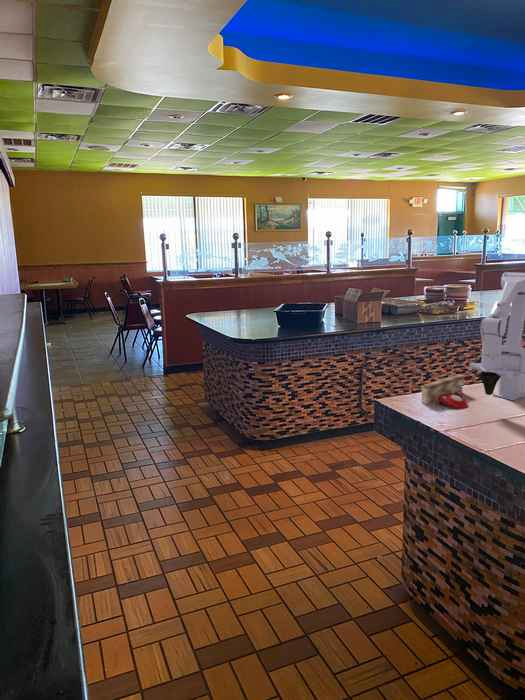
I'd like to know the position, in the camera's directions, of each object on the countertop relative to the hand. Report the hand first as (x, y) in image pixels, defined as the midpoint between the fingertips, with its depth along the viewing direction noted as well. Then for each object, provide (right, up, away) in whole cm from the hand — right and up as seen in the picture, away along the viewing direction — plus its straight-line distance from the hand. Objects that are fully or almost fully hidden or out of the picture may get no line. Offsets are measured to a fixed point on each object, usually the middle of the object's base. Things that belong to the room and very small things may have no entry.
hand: (489, 394), depth 174 cm
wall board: (-10, -3, +17) cm, 20 cm away
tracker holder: (-7, -5, +11) cm, 14 cm away
